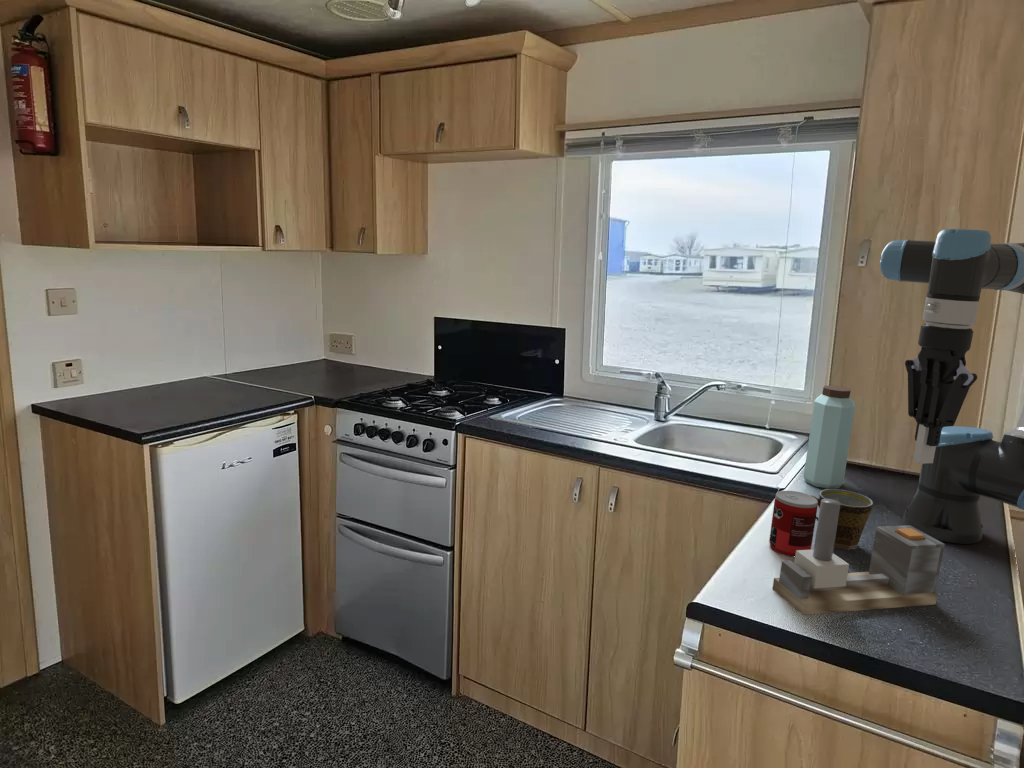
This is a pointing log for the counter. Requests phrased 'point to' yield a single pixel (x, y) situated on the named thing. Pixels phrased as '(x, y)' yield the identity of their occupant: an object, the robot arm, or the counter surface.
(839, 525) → the ceramic cup
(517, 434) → the counter surface
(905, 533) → the button
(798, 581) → the rail stand
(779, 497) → the canned food
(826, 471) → the water bottle
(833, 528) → the carriage
